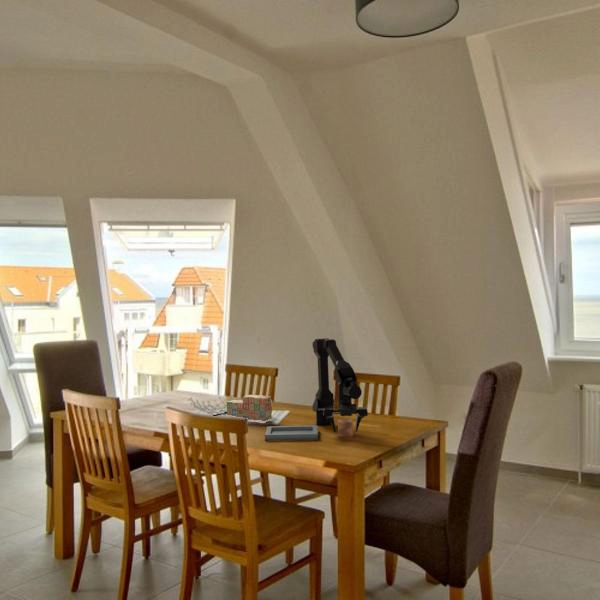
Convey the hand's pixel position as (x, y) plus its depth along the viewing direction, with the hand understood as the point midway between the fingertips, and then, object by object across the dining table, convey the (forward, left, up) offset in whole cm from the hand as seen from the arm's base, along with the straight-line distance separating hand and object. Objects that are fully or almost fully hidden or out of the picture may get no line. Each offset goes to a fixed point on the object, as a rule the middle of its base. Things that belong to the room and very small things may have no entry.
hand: (345, 431), depth 254 cm
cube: (0, 0, -1) cm, 1 cm away
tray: (-23, 0, -1) cm, 23 cm away
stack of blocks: (-44, +32, -2) cm, 55 cm away
